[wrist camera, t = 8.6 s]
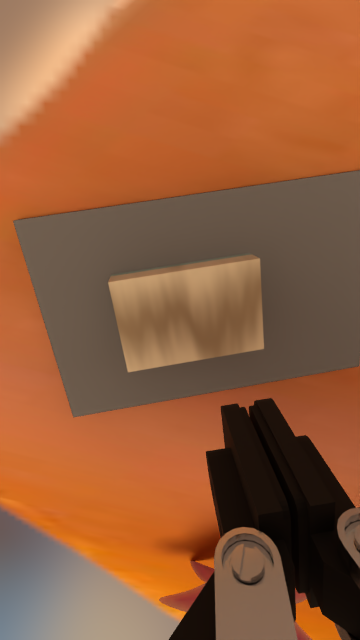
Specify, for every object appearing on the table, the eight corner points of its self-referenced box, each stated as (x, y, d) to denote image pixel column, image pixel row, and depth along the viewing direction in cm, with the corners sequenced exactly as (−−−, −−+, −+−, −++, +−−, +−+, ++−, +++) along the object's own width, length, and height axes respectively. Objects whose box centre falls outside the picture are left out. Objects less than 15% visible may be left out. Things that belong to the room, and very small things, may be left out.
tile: (263, 348, 21) (127, 372, 21) (254, 336, 23) (129, 358, 23) (259, 258, 19) (108, 282, 19) (249, 253, 21) (111, 274, 21)
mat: (353, 361, 26) (359, 366, 25) (75, 410, 25) (73, 417, 24) (365, 169, 21) (374, 168, 20) (17, 219, 20) (13, 220, 19)
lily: (142, 520, 31) (144, 665, 25) (236, 490, 25) (270, 675, 19) (226, 523, 38) (243, 638, 32) (316, 501, 31) (360, 639, 25)
